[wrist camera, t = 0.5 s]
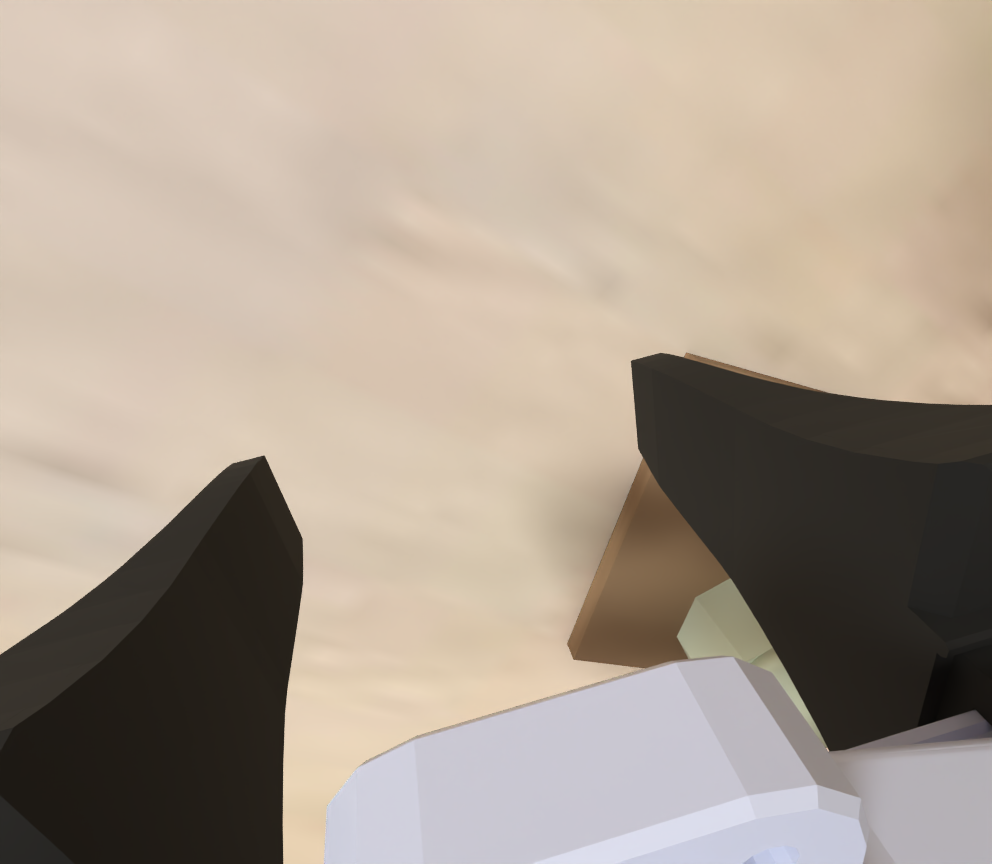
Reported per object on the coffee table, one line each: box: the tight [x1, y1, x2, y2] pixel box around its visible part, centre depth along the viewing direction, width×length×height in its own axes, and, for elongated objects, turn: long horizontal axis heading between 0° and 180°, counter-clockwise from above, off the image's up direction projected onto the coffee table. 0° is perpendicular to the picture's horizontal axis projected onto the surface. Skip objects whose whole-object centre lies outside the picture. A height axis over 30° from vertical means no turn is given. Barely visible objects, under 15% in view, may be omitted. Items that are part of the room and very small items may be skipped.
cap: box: [677, 579, 827, 748], centre depth 26 cm, size 5×5×5 cm
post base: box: [567, 353, 827, 668], centre depth 25 cm, size 14×10×4 cm
